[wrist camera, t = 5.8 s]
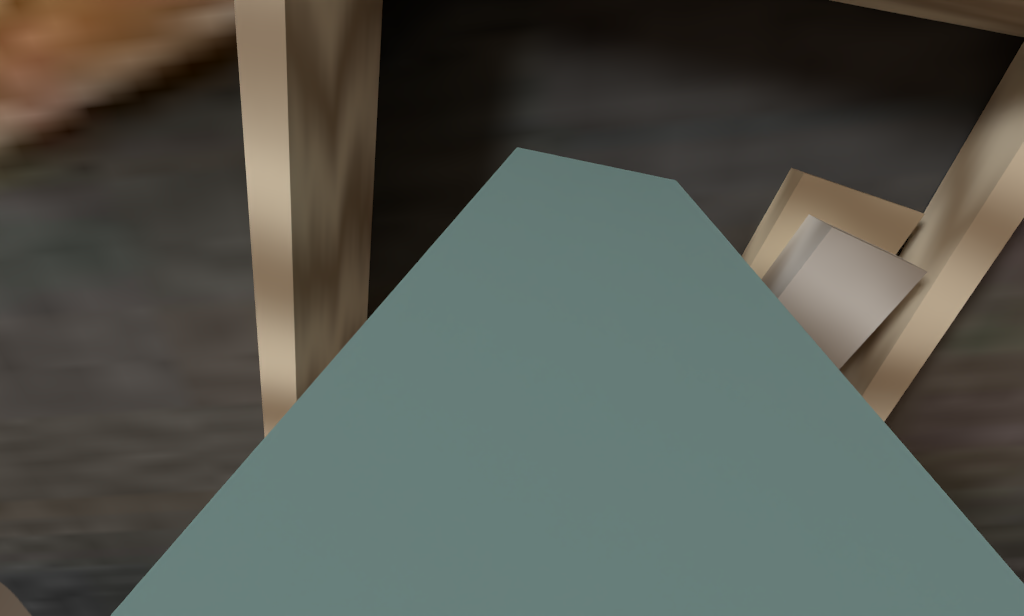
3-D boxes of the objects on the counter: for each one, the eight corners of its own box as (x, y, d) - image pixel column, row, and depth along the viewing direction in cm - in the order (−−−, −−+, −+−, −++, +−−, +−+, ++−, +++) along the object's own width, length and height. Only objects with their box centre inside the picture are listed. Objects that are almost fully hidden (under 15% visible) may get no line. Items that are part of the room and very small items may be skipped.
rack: (342, -145, 17) (204, -278, 11) (1100, -4, 16) (1434, -62, 10) (333, 438, 30) (266, 534, 23) (760, 541, 28) (810, 671, 22)
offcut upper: (808, 214, 19) (832, 227, 17) (895, 254, 19) (927, 271, 17) (676, 395, 23) (683, 421, 22) (747, 427, 24) (761, 455, 22)
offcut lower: (784, 165, 20) (804, 173, 18) (894, 202, 20) (925, 214, 18) (655, 397, 26) (661, 420, 24) (741, 426, 26) (753, 451, 24)
